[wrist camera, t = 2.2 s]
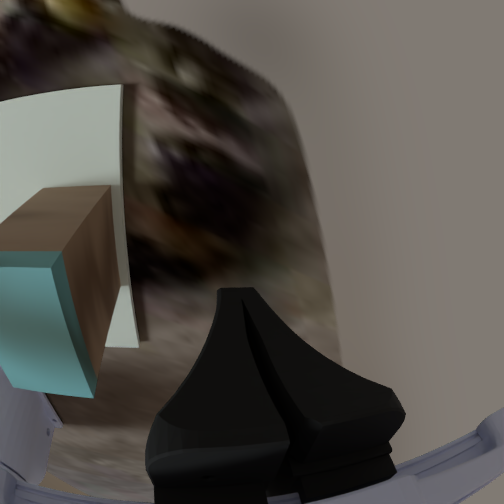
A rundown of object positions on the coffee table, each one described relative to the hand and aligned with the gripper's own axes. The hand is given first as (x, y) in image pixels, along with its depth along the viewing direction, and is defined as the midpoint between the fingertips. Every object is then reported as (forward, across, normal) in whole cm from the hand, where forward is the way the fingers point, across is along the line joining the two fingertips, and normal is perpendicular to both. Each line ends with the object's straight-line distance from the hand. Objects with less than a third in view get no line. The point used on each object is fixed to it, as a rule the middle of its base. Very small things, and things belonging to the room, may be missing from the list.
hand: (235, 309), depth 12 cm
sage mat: (+7, +12, 0) cm, 14 cm away
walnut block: (+6, +8, 0) cm, 10 cm away
